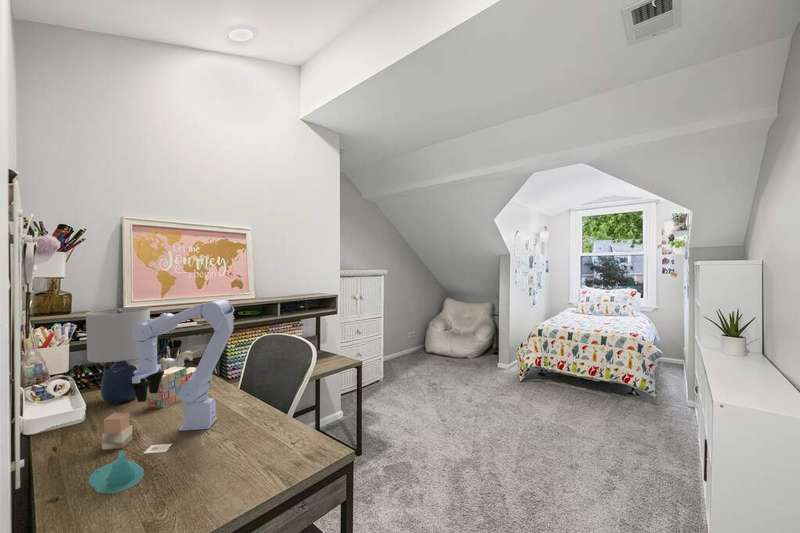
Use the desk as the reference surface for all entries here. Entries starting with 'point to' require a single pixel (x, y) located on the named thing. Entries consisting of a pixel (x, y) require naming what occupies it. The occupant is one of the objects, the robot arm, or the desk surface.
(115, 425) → the terracotta cube
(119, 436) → the birch base block
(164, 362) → the unicorn figurine
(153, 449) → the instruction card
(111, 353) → the lamp
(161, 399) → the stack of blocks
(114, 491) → the teal plastic funnel
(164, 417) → the desk surface
